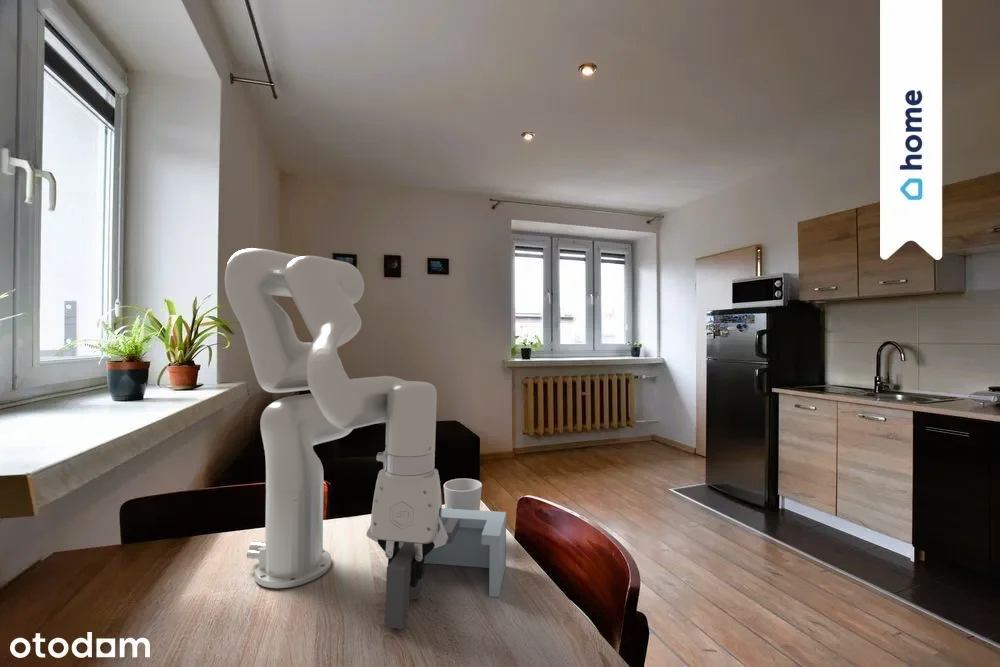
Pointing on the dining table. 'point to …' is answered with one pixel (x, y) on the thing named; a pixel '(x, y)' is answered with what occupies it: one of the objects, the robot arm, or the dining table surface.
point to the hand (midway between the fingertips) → (405, 580)
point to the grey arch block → (400, 587)
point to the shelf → (473, 543)
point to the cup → (462, 494)
